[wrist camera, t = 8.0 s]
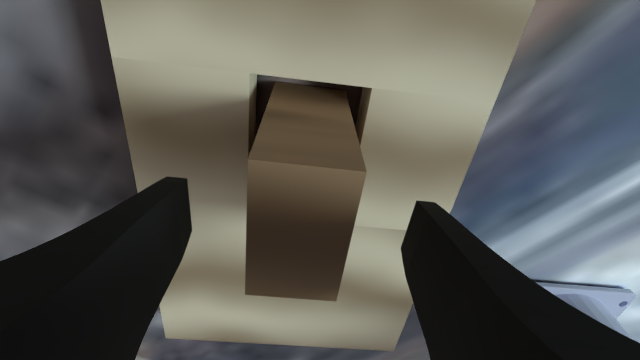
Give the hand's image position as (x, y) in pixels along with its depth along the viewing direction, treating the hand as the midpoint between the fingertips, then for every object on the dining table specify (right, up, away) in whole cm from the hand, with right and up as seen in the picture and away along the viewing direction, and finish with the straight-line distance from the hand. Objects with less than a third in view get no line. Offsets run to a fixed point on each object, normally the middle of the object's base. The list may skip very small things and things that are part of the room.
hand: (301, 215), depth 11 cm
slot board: (0, +1, +6) cm, 6 cm away
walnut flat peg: (0, +3, +5) cm, 6 cm away
